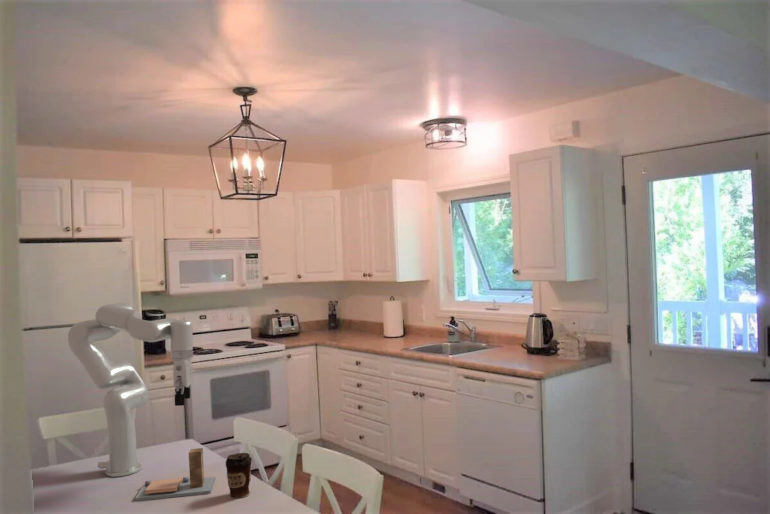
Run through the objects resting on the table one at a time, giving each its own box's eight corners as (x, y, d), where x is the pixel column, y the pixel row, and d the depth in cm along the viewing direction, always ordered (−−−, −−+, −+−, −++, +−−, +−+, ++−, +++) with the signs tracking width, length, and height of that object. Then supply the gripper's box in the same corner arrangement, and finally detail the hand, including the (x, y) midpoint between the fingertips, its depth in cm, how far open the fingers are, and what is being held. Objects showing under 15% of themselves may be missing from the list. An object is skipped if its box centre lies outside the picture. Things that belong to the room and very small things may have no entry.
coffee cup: (246, 500, 197) (244, 460, 197) (222, 500, 199) (220, 459, 199) (257, 490, 206) (255, 451, 206) (234, 489, 208) (232, 451, 207)
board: (135, 501, 202) (134, 493, 202) (144, 486, 215) (144, 479, 214) (210, 493, 205) (210, 486, 205) (215, 479, 218) (215, 472, 218)
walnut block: (190, 488, 208) (188, 452, 208) (192, 483, 212) (190, 449, 212) (202, 486, 209) (200, 451, 209) (204, 482, 213) (202, 448, 213)
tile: (145, 494, 203) (144, 490, 203) (152, 484, 213) (152, 481, 213) (176, 491, 204) (176, 487, 204) (182, 481, 214) (182, 478, 214)
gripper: (187, 358, 213) (188, 407, 214) (197, 350, 230) (198, 395, 231) (165, 359, 212) (166, 408, 213) (176, 350, 230) (177, 396, 230)
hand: (182, 401), depth 222 cm, fingers open, 9 cm apart
